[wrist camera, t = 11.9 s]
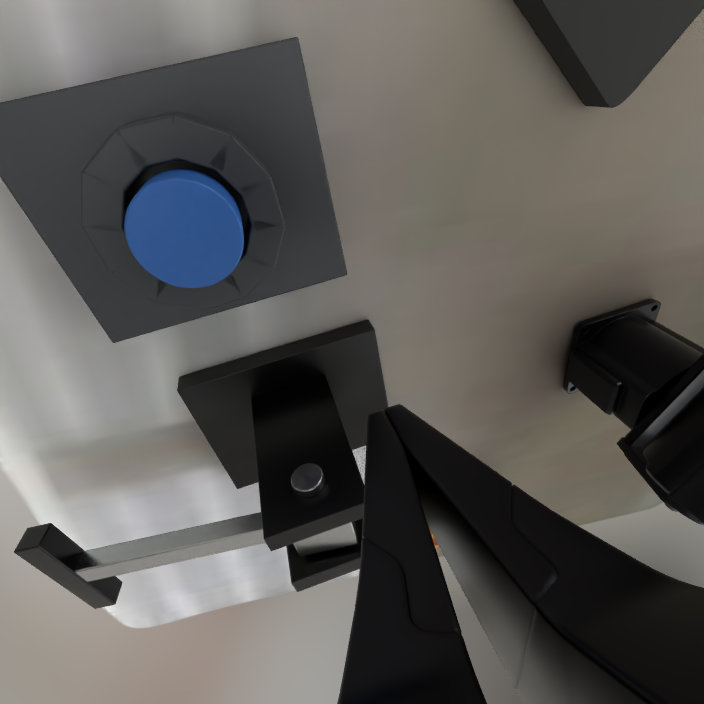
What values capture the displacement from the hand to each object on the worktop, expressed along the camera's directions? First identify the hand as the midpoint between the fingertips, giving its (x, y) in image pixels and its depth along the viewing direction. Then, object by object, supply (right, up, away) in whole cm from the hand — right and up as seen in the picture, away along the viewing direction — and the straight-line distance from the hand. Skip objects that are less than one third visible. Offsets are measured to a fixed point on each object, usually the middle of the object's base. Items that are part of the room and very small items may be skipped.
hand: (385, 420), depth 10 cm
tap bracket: (-4, -2, +15) cm, 16 cm away
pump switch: (-8, +8, +7) cm, 13 cm away
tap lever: (-8, -6, +10) cm, 14 cm away
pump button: (-7, +6, +4) cm, 10 cm away
